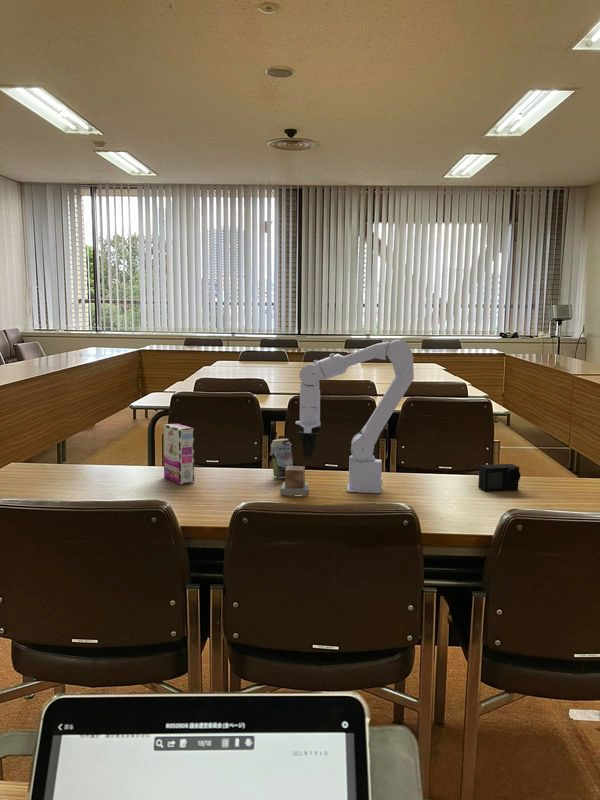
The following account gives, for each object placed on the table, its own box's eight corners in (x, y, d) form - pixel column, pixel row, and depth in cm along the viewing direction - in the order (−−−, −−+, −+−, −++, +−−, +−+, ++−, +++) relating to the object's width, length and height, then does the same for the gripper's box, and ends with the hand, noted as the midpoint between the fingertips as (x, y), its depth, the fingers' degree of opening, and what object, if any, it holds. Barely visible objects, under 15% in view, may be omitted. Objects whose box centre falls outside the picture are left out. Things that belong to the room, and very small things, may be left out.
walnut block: (304, 483, 182) (304, 466, 182) (303, 488, 177) (303, 470, 177) (287, 483, 183) (287, 465, 182) (285, 487, 178) (285, 469, 177)
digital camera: (486, 493, 182) (488, 469, 181) (477, 488, 187) (479, 464, 186) (520, 491, 184) (521, 467, 183) (510, 486, 189) (512, 463, 188)
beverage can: (285, 481, 192) (285, 442, 190) (266, 477, 196) (266, 438, 195) (298, 477, 197) (298, 438, 195) (279, 473, 201) (279, 435, 200)
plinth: (308, 489, 183) (308, 482, 183) (306, 496, 176) (306, 489, 176) (283, 488, 184) (283, 482, 184) (280, 495, 177) (280, 488, 177)
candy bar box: (195, 483, 190) (194, 427, 187) (179, 485, 187) (179, 429, 184) (178, 475, 198) (177, 422, 196) (163, 477, 195) (162, 424, 193)
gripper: (298, 402, 190) (297, 448, 192) (293, 409, 176) (292, 458, 178) (322, 403, 190) (321, 448, 191) (319, 410, 175) (318, 459, 177)
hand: (309, 453), depth 185 cm, fingers open, 7 cm apart
